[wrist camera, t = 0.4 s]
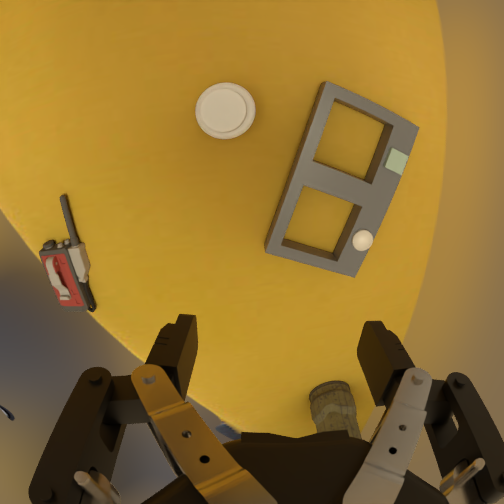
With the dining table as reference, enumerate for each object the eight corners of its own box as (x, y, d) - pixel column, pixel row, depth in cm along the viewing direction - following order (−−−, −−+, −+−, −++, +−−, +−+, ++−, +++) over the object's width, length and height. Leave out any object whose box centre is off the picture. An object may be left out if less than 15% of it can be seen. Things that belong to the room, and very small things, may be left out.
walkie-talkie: (108, 306, 44) (72, 191, 35) (98, 322, 40) (55, 200, 31) (70, 306, 44) (33, 201, 35) (59, 321, 40) (16, 210, 31)
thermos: (360, 392, 54) (397, 536, 23) (309, 410, 57) (329, 553, 25) (352, 372, 51) (396, 536, 19) (296, 391, 53) (315, 556, 22)
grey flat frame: (321, 83, 29) (327, 80, 27) (409, 126, 31) (421, 127, 28) (264, 244, 39) (265, 254, 36) (349, 268, 40) (355, 279, 38)
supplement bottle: (197, 118, 31) (176, 119, 22) (225, 81, 29) (215, 66, 20) (235, 143, 33) (230, 154, 24) (263, 107, 31) (269, 102, 22)
